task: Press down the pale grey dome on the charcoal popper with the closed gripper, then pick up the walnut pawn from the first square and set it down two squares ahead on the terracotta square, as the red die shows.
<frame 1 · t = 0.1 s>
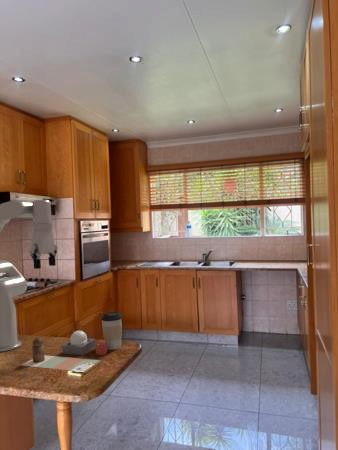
hand: (45, 267, 154), 37 cm above the kitchen island counter, tool pointing down, fingers open, 9 cm apart
dome: (78, 339, 151), point 5 cm above the kitchen island counter, slide at 0.0 cm
red die: (101, 353, 147), on the kitchen island counter
walnut pawn: (38, 360, 141), point 1 cm above the kitchen island counter, touching game board
game board: (60, 364, 138), on the kitchen island counter
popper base: (79, 351, 151), on the kitchen island counter
coffee cup: (113, 347, 155), on the kitchen island counter
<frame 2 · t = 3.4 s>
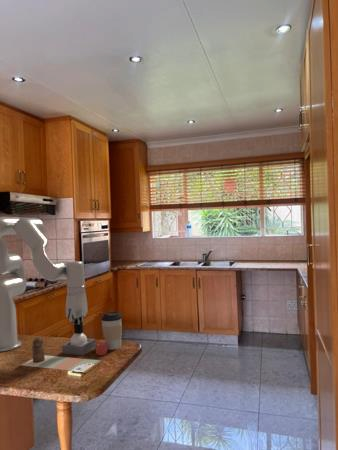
hand: (78, 332, 151), 8 cm above the kitchen island counter, tool pointing down, fingers closed
dome: (78, 341, 151), point 4 cm above the kitchen island counter, slide at 0.9 cm, touching gripper
everything else where it was.
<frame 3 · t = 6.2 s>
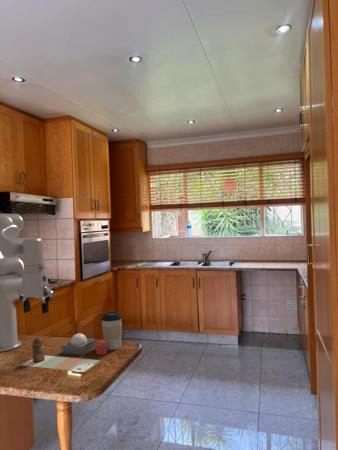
hand: (36, 312, 141), 20 cm above the kitchen island counter, tool pointing down, fingers open, 8 cm apart
dome: (78, 341, 151), point 4 cm above the kitchen island counter, slide at 1.2 cm
everything else where it was.
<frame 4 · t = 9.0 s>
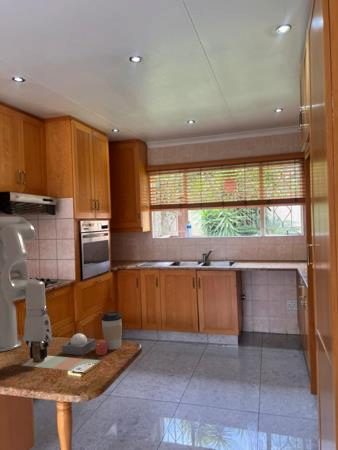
hand: (38, 357, 141), 2 cm above the kitchen island counter, tool pointing down, fingers closed on walnut pawn, 4 cm apart
walnut pawn: (38, 360, 141), point 1 cm above the kitchen island counter, touching game board, gripper
everything else where it was.
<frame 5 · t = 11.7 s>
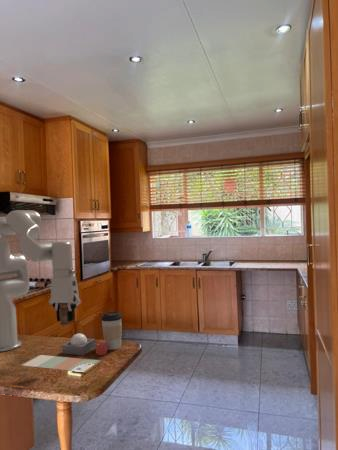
hand: (65, 320, 136), 17 cm above the kitchen island counter, tool pointing down, fingers closed on walnut pawn, 4 cm apart
walnut pawn: (65, 323, 136), point 16 cm above the kitchen island counter, touching gripper
everything else where it was.
when the fingers open (3 cm above the kitchen island counter, at t = 14.6 s): walnut pawn drops 2 cm, resting on game board.
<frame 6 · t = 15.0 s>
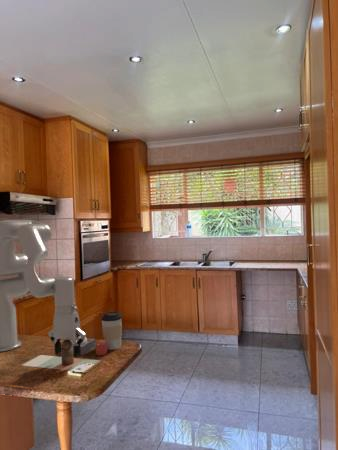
hand: (67, 354, 136), 4 cm above the kitchen island counter, tool pointing down, fingers open, 8 cm apart
walnut pawn: (67, 363, 137), point 1 cm above the kitchen island counter, touching game board
everything else where it was.
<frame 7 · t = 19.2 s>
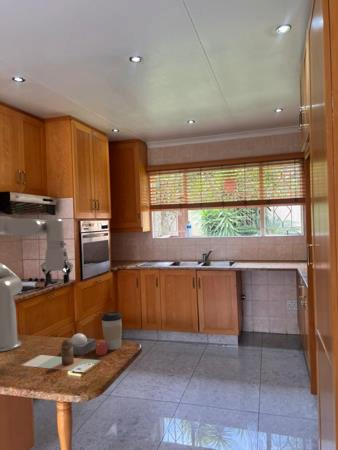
hand: (57, 283, 162), 28 cm above the kitchen island counter, tool pointing down, fingers open, 9 cm apart
nothing on the kitchen island counter moved.
at the end: dome slide at 1.2 cm; walnut pawn 0.2 cm from the target spot on the game board, point 0.6 cm above the game board's base; walnut pawn tilted 0° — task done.
